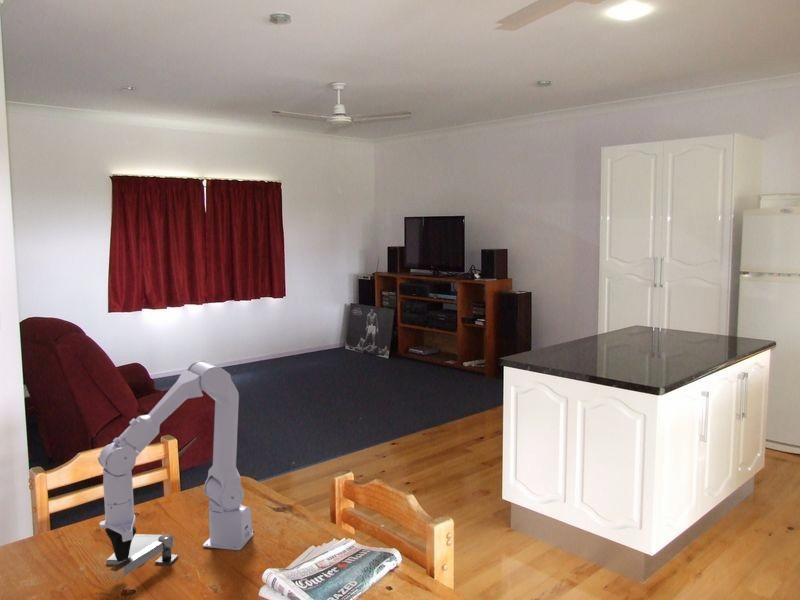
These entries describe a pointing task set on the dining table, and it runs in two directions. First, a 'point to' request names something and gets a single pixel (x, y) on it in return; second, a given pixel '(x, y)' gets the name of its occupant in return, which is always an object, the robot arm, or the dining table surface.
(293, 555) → the dining table surface
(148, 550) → the grey long bar
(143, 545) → the hard drive
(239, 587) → the dining table surface
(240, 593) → the dining table surface
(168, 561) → the grey small stand
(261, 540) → the dining table surface
